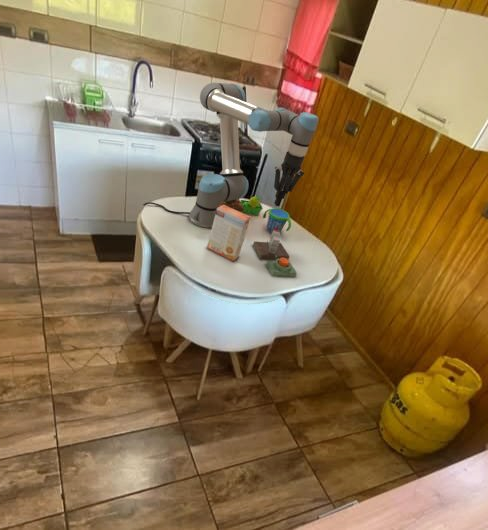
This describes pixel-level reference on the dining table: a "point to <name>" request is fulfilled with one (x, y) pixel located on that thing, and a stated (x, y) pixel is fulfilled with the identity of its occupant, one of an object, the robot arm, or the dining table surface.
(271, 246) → the tap lever
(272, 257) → the brown flat block
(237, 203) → the bread
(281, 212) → the snack cup
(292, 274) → the button housing
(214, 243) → the cracker box
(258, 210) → the fruit basket
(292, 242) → the dining table surface
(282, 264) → the button
